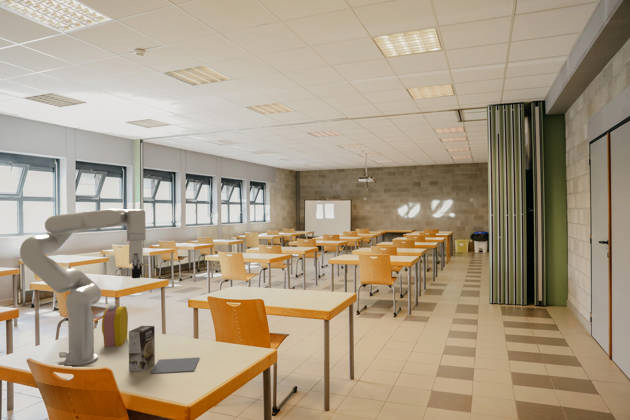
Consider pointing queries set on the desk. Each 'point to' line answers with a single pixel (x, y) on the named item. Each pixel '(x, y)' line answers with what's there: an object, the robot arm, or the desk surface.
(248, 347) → the desk surface
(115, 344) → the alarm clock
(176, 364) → the mat
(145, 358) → the coffee box
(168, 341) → the desk surface
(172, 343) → the desk surface
